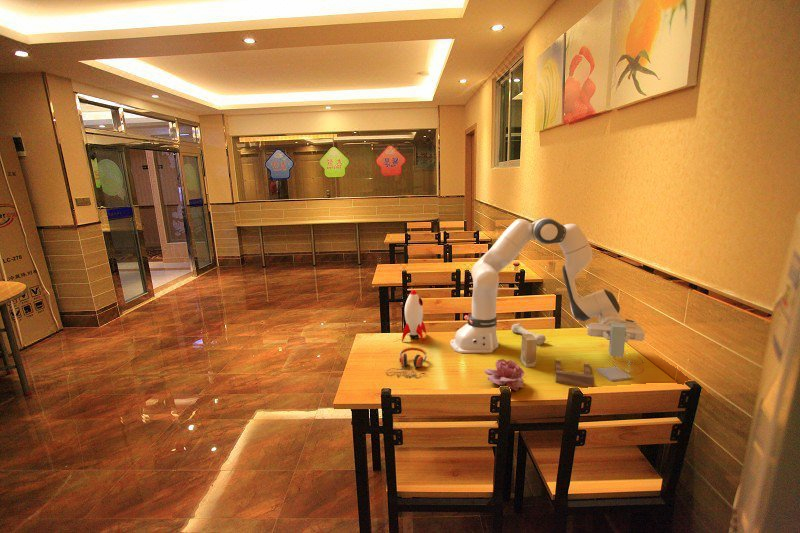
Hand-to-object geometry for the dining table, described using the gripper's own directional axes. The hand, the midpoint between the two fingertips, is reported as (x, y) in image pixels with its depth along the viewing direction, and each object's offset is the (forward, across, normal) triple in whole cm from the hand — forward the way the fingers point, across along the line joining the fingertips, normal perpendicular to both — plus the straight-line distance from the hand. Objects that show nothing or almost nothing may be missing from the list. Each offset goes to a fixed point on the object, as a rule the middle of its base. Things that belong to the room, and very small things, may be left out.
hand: (617, 339), depth 155 cm
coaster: (-1, 0, +15) cm, 15 cm away
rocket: (-13, -87, +15) cm, 89 cm away
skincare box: (-1, -32, +15) cm, 36 cm away
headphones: (+17, -79, +15) cm, 82 cm away
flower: (+21, -40, +15) cm, 47 cm away
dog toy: (-30, -34, +16) cm, 48 cm away
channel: (+3, -15, +15) cm, 22 cm away
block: (-1, 0, +6) cm, 7 cm away
